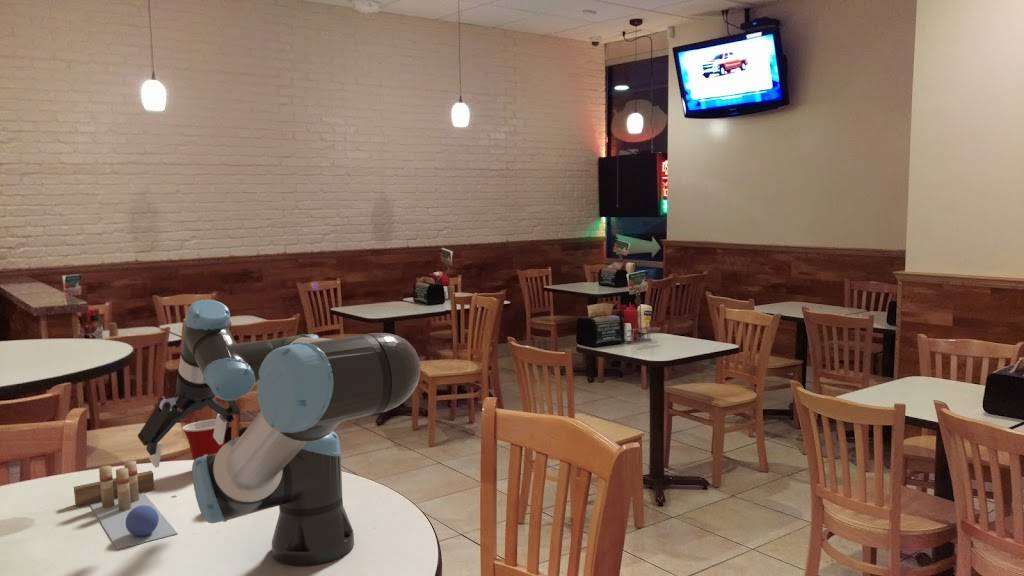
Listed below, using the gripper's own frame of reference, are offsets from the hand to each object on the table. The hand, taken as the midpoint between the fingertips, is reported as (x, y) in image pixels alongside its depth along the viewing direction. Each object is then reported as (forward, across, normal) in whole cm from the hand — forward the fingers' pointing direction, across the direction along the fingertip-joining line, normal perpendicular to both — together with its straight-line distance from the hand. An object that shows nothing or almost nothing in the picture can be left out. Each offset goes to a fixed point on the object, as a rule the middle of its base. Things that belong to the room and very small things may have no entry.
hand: (186, 451), depth 160 cm
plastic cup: (+30, -17, -16) cm, 38 cm away
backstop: (+28, +5, -17) cm, 33 cm away
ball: (+11, +10, +4) cm, 15 cm away
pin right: (+24, +4, -12) cm, 27 cm away
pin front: (+22, +7, -8) cm, 25 cm away
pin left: (+25, +9, -13) cm, 29 cm away
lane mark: (+19, +8, -3) cm, 21 cm away
